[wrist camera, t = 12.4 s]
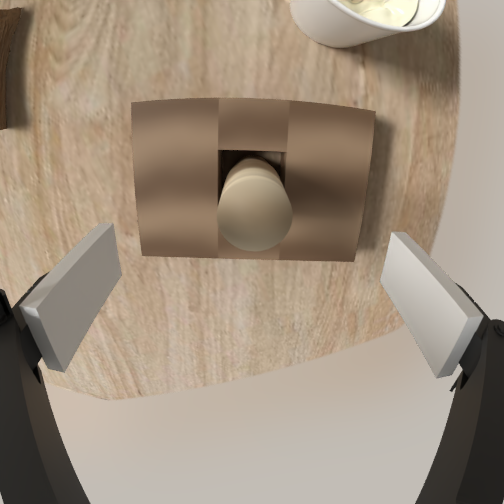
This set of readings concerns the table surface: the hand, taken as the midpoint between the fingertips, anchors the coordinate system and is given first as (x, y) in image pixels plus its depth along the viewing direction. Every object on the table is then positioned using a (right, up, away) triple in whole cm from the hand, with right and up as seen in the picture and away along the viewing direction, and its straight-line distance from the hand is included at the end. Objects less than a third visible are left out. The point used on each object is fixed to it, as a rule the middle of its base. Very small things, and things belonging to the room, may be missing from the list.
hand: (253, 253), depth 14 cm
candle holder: (+7, +23, +8) cm, 25 cm away
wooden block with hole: (0, +7, +15) cm, 17 cm away
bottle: (0, +7, +15) cm, 17 cm away
